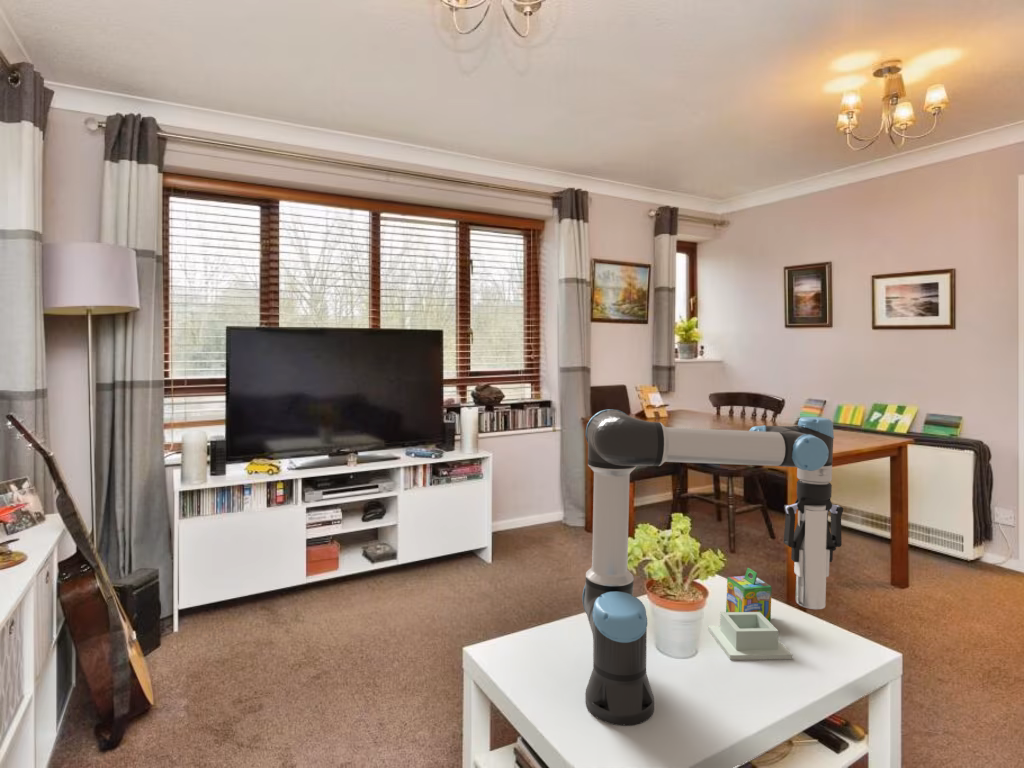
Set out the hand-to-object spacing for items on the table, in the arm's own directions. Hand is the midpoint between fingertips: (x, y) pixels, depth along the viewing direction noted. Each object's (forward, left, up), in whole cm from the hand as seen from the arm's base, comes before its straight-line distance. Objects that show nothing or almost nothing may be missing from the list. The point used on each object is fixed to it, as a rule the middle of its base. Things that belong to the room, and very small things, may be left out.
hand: (811, 574), depth 142 cm
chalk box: (-4, +27, -24) cm, 37 cm away
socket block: (-10, +13, -24) cm, 29 cm away
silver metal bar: (0, 0, -8) cm, 8 cm away
